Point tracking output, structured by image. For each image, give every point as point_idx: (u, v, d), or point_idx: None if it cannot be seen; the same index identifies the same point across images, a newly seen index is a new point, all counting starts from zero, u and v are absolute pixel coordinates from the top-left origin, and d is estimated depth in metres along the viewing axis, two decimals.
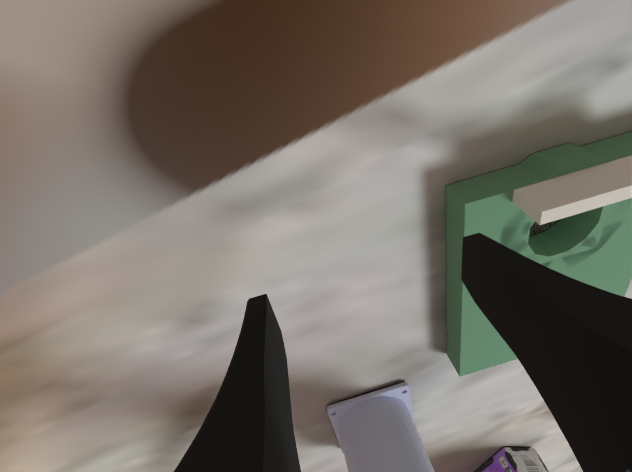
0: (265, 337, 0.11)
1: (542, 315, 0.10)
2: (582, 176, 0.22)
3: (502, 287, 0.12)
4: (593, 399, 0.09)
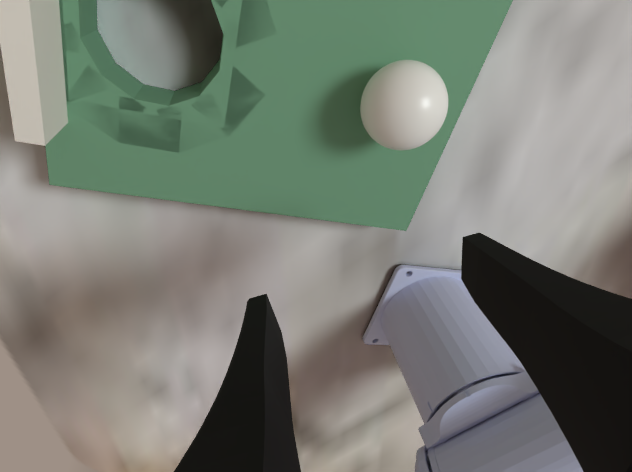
0: (265, 337, 0.11)
1: (542, 315, 0.10)
2: None
3: (502, 287, 0.12)
4: (593, 399, 0.09)
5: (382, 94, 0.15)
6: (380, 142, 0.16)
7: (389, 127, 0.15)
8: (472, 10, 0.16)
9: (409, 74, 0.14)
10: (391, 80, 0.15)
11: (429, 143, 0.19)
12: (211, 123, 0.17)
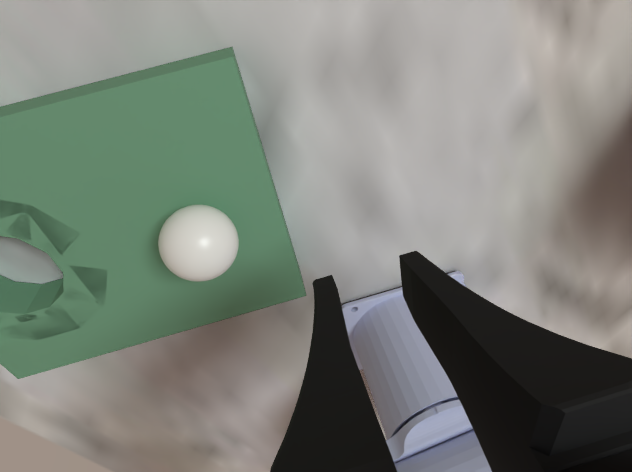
0: (342, 314, 0.11)
1: (460, 340, 0.10)
2: None
3: (430, 308, 0.12)
4: (501, 428, 0.09)
5: (162, 256, 0.17)
6: None
7: (182, 277, 0.17)
8: (218, 135, 0.17)
9: (170, 235, 0.16)
10: (161, 244, 0.17)
11: (269, 233, 0.21)
12: (86, 302, 0.21)
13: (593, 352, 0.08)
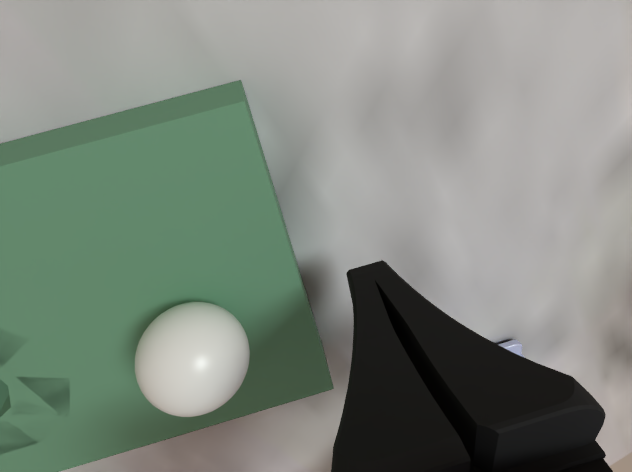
0: (382, 303, 0.11)
1: (416, 353, 0.10)
2: None
3: (392, 319, 0.11)
4: None
5: (139, 386, 0.12)
6: None
7: (169, 413, 0.12)
8: (221, 208, 0.12)
9: (151, 362, 0.11)
10: (138, 371, 0.11)
11: (288, 324, 0.15)
12: (43, 416, 0.15)
13: (537, 369, 0.08)
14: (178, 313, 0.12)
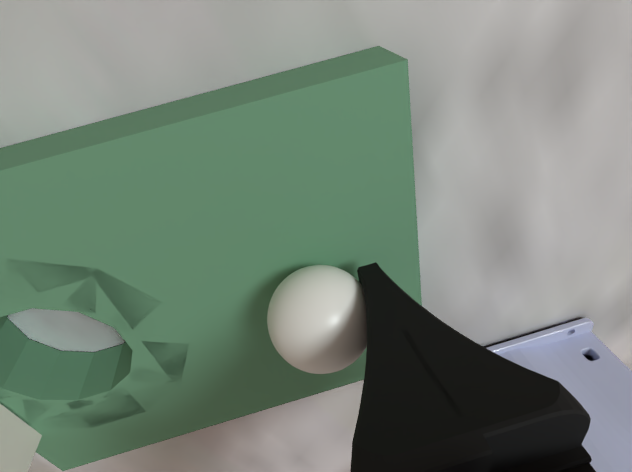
0: (395, 299, 0.11)
1: None
2: None
3: None
4: None
5: (273, 338, 0.12)
6: None
7: (297, 368, 0.12)
8: (364, 170, 0.12)
9: (290, 315, 0.12)
10: (275, 323, 0.12)
11: None
12: (157, 382, 0.16)
13: (523, 373, 0.08)
14: (313, 272, 0.12)
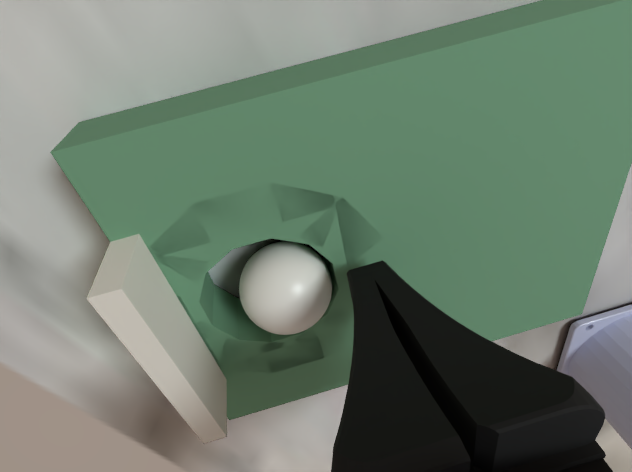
0: (382, 303, 0.11)
1: (416, 353, 0.10)
2: None
3: (392, 319, 0.11)
4: None
5: (287, 319, 0.13)
6: None
7: (307, 328, 0.14)
8: (609, 100, 0.12)
9: (296, 286, 0.13)
10: (286, 304, 0.13)
11: (588, 236, 0.16)
12: (346, 326, 0.16)
13: (537, 369, 0.08)
14: (275, 252, 0.14)
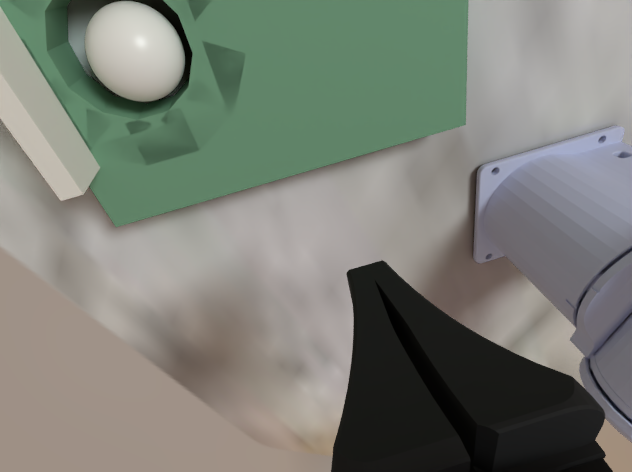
0: (382, 303, 0.11)
1: (416, 353, 0.10)
2: None
3: (392, 319, 0.11)
4: None
5: (115, 57, 0.14)
6: (147, 100, 0.15)
7: (147, 82, 0.14)
8: None
9: (123, 22, 0.13)
10: (112, 38, 0.13)
11: (446, 12, 0.16)
12: (212, 108, 0.16)
13: (537, 369, 0.08)
14: None
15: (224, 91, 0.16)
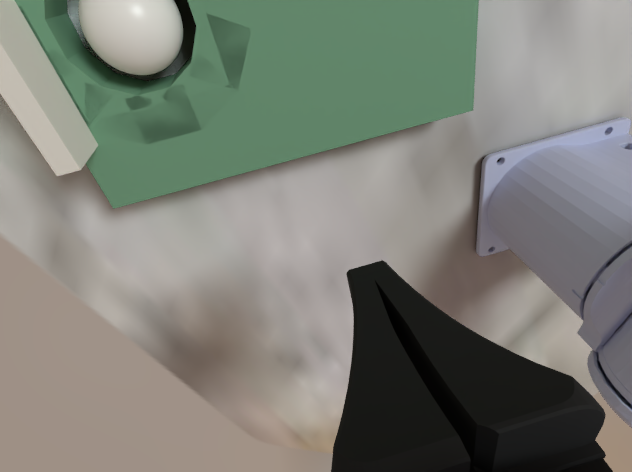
0: (382, 303, 0.11)
1: (416, 353, 0.10)
2: None
3: (392, 319, 0.11)
4: None
5: (104, 21, 0.13)
6: (140, 72, 0.15)
7: (137, 51, 0.14)
8: None
9: None
10: (102, 2, 0.13)
11: None
12: (215, 85, 0.16)
13: (537, 369, 0.08)
14: None
15: (228, 68, 0.16)
